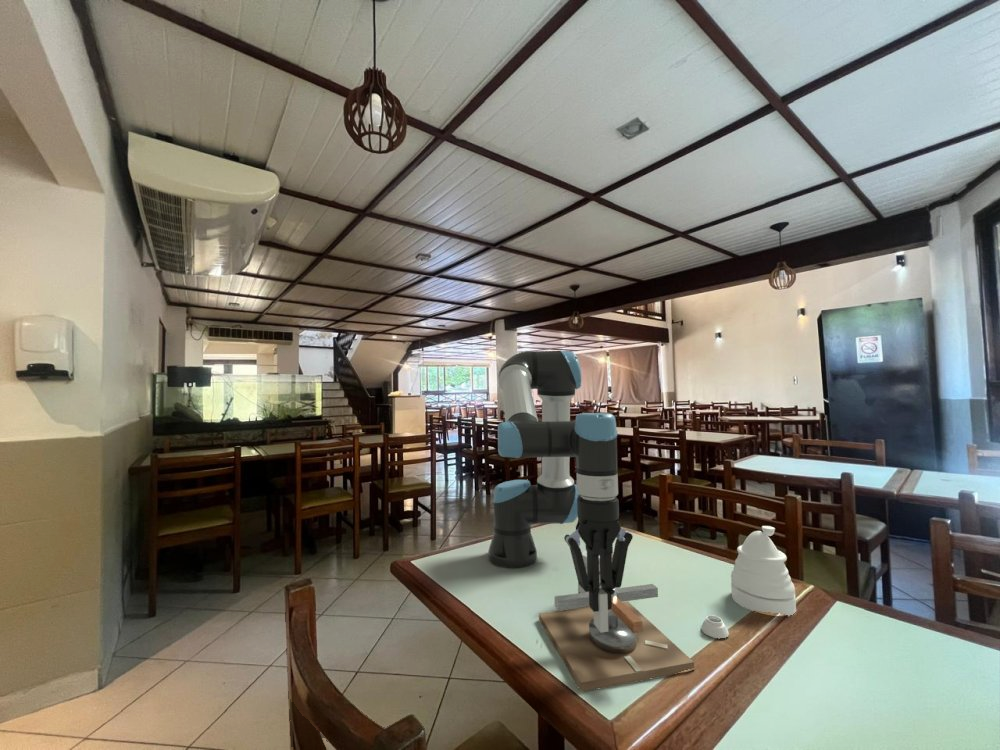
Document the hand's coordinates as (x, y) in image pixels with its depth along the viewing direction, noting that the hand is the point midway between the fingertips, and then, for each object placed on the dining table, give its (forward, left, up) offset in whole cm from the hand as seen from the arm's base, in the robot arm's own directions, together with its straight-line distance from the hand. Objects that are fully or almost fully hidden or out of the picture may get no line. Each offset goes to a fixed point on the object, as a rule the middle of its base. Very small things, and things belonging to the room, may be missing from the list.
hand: (601, 627), depth 71 cm
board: (-7, +5, -7) cm, 11 cm away
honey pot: (-13, +49, -8) cm, 51 cm away
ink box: (-22, +10, -8) cm, 26 cm away
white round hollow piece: (-5, +28, -8) cm, 30 cm away
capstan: (-7, +5, -6) cm, 10 cm away
